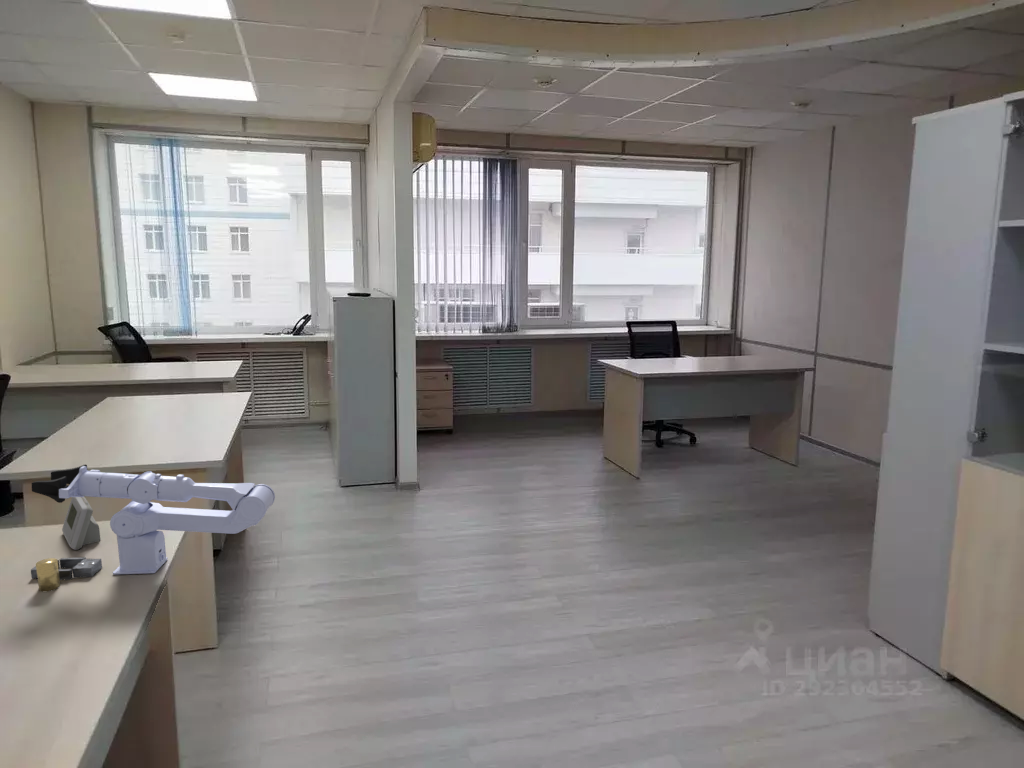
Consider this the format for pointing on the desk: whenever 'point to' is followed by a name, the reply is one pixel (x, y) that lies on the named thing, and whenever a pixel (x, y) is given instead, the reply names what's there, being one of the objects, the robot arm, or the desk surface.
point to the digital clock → (80, 524)
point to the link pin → (48, 574)
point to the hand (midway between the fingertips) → (42, 481)
